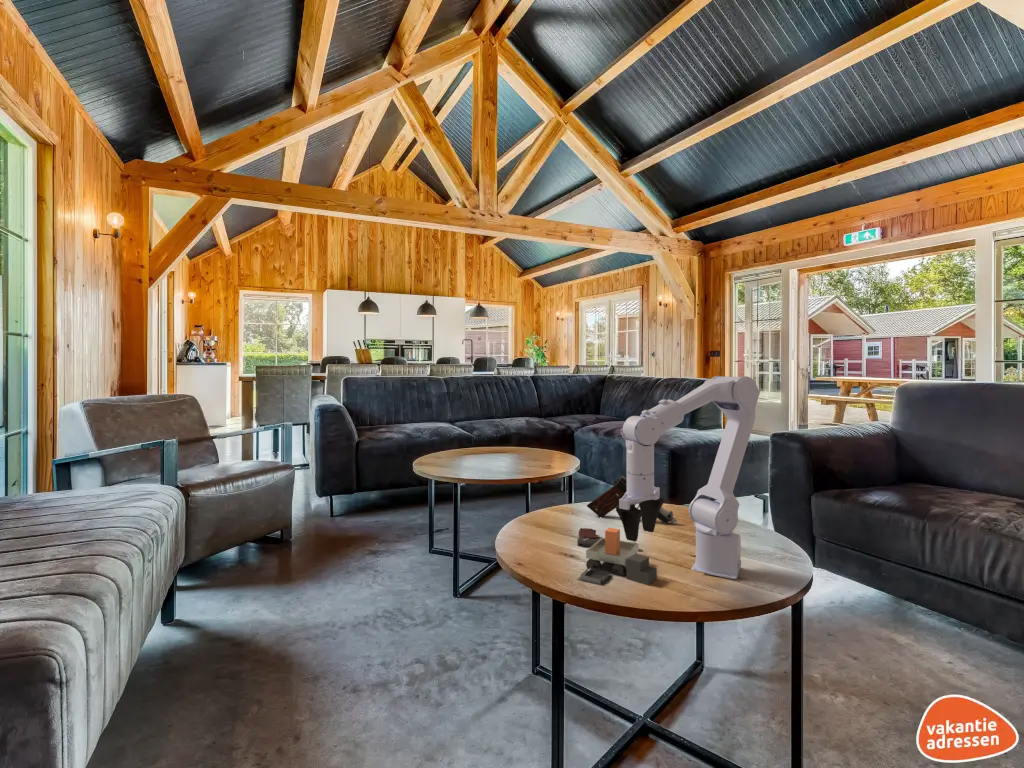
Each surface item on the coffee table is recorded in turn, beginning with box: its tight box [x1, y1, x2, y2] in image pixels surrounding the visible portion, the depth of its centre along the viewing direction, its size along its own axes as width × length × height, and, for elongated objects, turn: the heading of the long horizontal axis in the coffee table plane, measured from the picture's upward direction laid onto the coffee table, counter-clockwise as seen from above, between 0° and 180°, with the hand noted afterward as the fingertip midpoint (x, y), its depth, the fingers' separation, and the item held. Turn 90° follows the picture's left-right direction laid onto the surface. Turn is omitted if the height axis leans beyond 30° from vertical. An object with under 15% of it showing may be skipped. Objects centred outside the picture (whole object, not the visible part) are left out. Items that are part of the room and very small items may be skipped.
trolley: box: [585, 537, 640, 577], centre depth 118 cm, size 9×10×5 cm
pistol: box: [576, 527, 638, 548], centre depth 135 cm, size 2×15×12 cm
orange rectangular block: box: [604, 527, 621, 554], centre depth 117 cm, size 3×3×5 cm
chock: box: [626, 553, 658, 586], centre depth 110 cm, size 5×4×5 cm
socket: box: [576, 568, 614, 587], centre depth 111 cm, size 6×6×1 cm
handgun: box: [586, 474, 678, 525], centre depth 154 cm, size 3×23×15 cm
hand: (640, 535), depth 110 cm, fingers open, 7 cm apart
